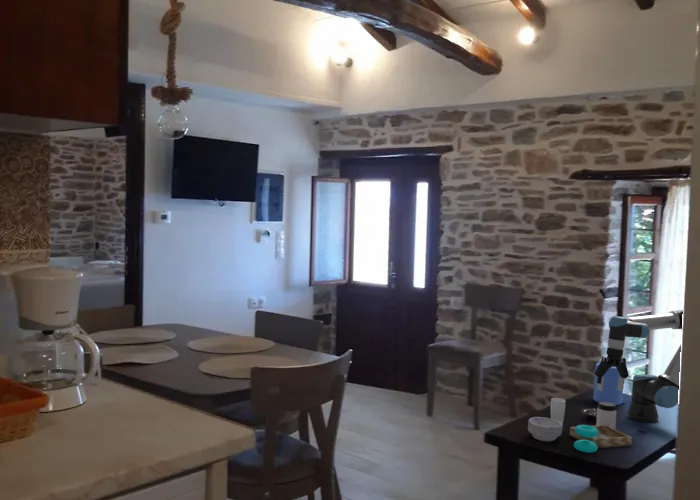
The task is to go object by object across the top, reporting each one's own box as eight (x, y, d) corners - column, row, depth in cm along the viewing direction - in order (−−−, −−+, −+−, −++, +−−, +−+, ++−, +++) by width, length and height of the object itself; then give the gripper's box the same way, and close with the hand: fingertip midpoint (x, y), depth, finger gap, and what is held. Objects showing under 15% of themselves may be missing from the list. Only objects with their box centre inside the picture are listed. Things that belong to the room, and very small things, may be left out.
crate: (605, 433, 324) (606, 425, 324) (631, 445, 307) (631, 437, 307) (569, 435, 319) (570, 426, 319) (593, 448, 302) (594, 439, 301)
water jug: (619, 407, 374) (622, 357, 373) (590, 401, 382) (593, 353, 381) (625, 401, 387) (628, 353, 386) (596, 396, 395) (599, 349, 394)
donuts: (575, 422, 305) (599, 426, 301) (574, 444, 306) (597, 448, 302) (574, 428, 296) (598, 432, 292) (572, 451, 297) (596, 455, 293)
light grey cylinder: (547, 427, 329) (549, 397, 329) (561, 428, 329) (563, 398, 329) (551, 432, 323) (553, 401, 322) (565, 432, 322) (567, 401, 322)
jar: (607, 431, 328) (608, 406, 327) (593, 426, 335) (594, 402, 334) (618, 428, 333) (620, 404, 332) (604, 424, 340) (605, 400, 339)
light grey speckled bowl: (557, 446, 302) (558, 428, 302) (523, 439, 310) (524, 422, 309) (564, 437, 316) (565, 420, 315) (532, 431, 323) (533, 414, 323)
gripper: (627, 347, 341) (622, 388, 341) (590, 345, 330) (585, 388, 331) (639, 350, 334) (634, 392, 335) (602, 348, 324) (596, 392, 324)
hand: (609, 390), depth 333 cm, fingers open, 13 cm apart
